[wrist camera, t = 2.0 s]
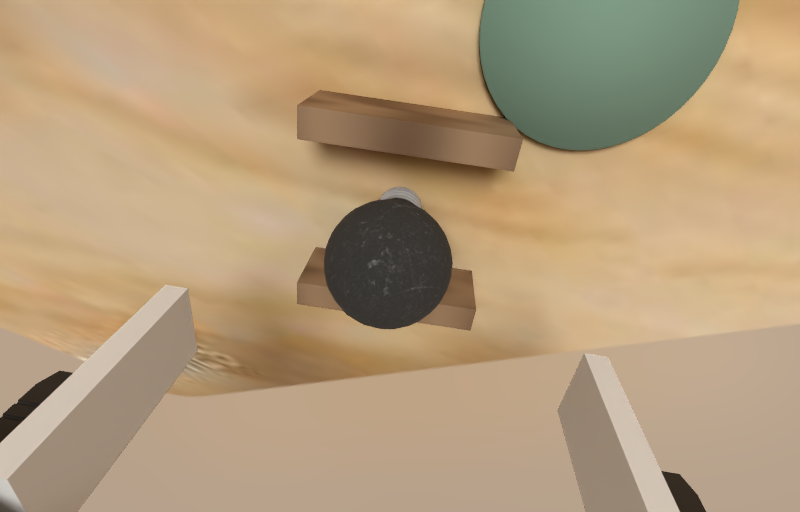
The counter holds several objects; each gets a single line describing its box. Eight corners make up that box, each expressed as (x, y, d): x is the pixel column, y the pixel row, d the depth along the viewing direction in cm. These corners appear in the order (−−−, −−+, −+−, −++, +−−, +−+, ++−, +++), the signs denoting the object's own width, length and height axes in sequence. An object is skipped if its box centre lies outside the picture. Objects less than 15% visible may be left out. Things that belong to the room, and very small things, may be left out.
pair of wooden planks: (315, 267, 28) (297, 304, 24) (319, 90, 22) (297, 105, 19) (466, 290, 28) (470, 330, 24) (510, 118, 22) (522, 138, 19)
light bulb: (339, 170, 24) (283, 260, 16) (433, 141, 23) (429, 221, 14) (373, 252, 27) (341, 368, 18) (460, 230, 25) (470, 343, 17)
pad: (458, 130, 22) (459, 133, 22) (512, -146, 17) (514, -151, 16) (664, 161, 22) (669, 164, 22) (787, -107, 17) (798, -111, 16)
